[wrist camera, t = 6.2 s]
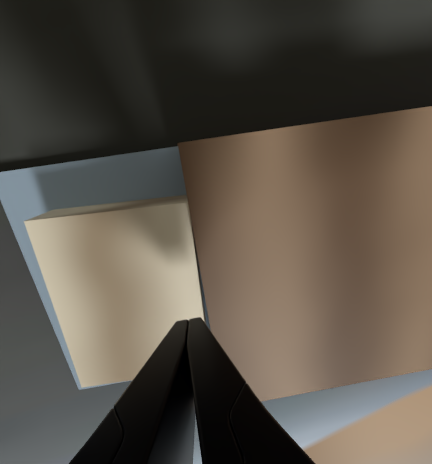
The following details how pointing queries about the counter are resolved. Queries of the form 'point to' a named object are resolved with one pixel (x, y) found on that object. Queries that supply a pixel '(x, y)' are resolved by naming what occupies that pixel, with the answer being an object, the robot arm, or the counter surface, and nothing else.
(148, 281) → the tile
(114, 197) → the mat
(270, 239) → the plate
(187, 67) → the counter surface
